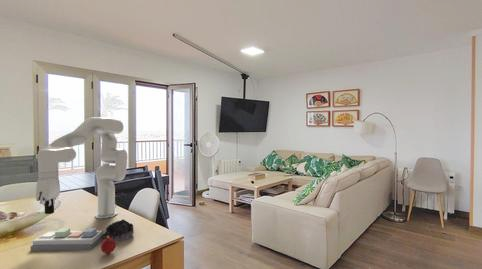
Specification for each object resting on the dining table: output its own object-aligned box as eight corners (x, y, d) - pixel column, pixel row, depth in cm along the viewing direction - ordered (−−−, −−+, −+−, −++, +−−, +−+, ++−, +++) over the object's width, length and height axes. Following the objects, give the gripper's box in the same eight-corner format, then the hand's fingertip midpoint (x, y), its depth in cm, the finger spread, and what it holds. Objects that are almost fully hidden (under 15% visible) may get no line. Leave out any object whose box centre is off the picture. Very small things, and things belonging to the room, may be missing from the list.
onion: (118, 250, 114) (118, 233, 113) (112, 257, 108) (111, 238, 108) (105, 251, 113) (105, 233, 113) (98, 257, 108) (98, 239, 107)
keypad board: (50, 238, 126) (50, 230, 126) (104, 237, 127) (104, 229, 127) (30, 250, 113) (30, 241, 113) (90, 249, 114) (90, 240, 114)
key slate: (87, 233, 123) (87, 228, 123) (96, 233, 123) (96, 228, 123) (82, 236, 118) (82, 231, 118) (91, 236, 119) (91, 231, 119)
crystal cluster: (106, 235, 132) (104, 217, 131) (134, 229, 137) (132, 211, 136) (103, 248, 120) (100, 228, 118) (134, 241, 125) (132, 222, 123)
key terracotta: (74, 237, 122) (74, 232, 122) (83, 237, 123) (83, 232, 123) (69, 241, 118) (69, 235, 118) (78, 241, 118) (78, 235, 118)
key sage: (61, 233, 122) (61, 228, 122) (70, 233, 122) (70, 228, 122) (55, 237, 118) (55, 232, 118) (64, 237, 118) (64, 231, 118)
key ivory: (47, 237, 122) (47, 232, 122) (56, 237, 122) (56, 232, 122) (41, 241, 117) (41, 236, 117) (50, 241, 118) (50, 236, 118)
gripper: (51, 172, 126) (52, 208, 127) (27, 178, 111) (28, 219, 112) (66, 172, 127) (67, 208, 127) (45, 178, 112) (46, 219, 112)
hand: (49, 213), depth 120 cm, fingers closed
